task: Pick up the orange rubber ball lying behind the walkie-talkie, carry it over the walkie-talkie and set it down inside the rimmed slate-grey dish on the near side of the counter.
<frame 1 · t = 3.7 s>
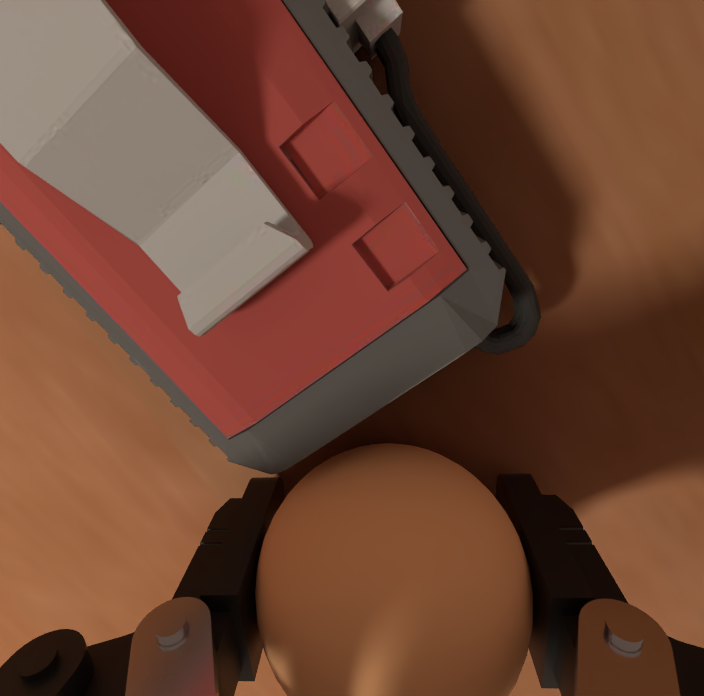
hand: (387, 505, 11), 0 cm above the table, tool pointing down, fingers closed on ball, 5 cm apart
ball: (390, 578, 9), point 3 cm above the table, touching gripper
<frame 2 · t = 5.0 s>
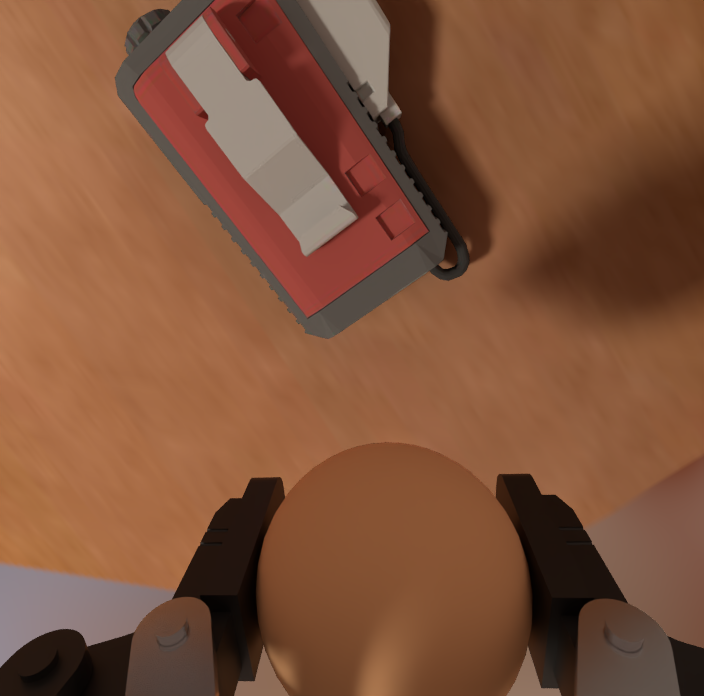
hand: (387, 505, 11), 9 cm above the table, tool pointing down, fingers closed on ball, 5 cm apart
walkie-talkie: (271, 81, 17), on the table
ball: (390, 577, 9), point 11 cm above the table, touching gripper
when the fingers open (2 cm above the table, at t = 9.7 s): ball stays where it is, resting on dish.
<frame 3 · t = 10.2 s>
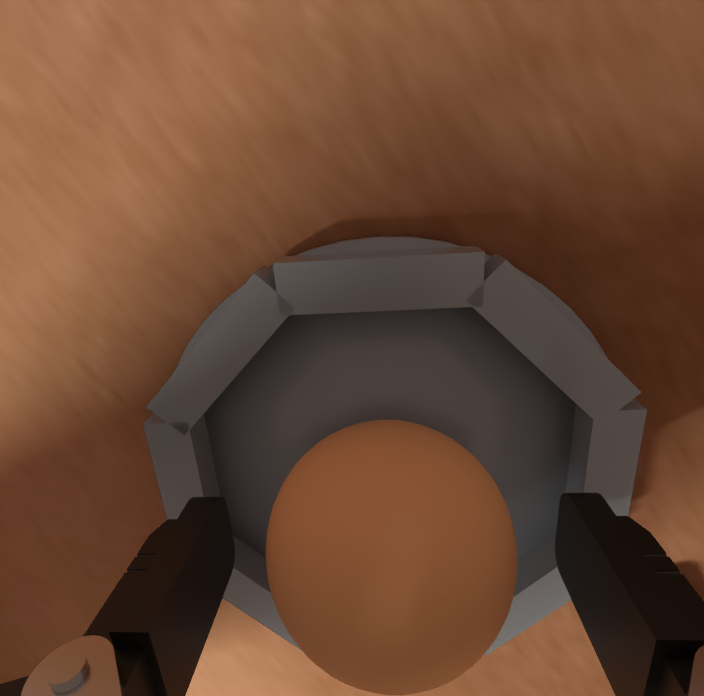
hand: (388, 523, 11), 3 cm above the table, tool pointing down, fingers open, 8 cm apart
ball: (388, 542, 10), point 3 cm above the table, touching dish
dish: (386, 459, 13), on the table
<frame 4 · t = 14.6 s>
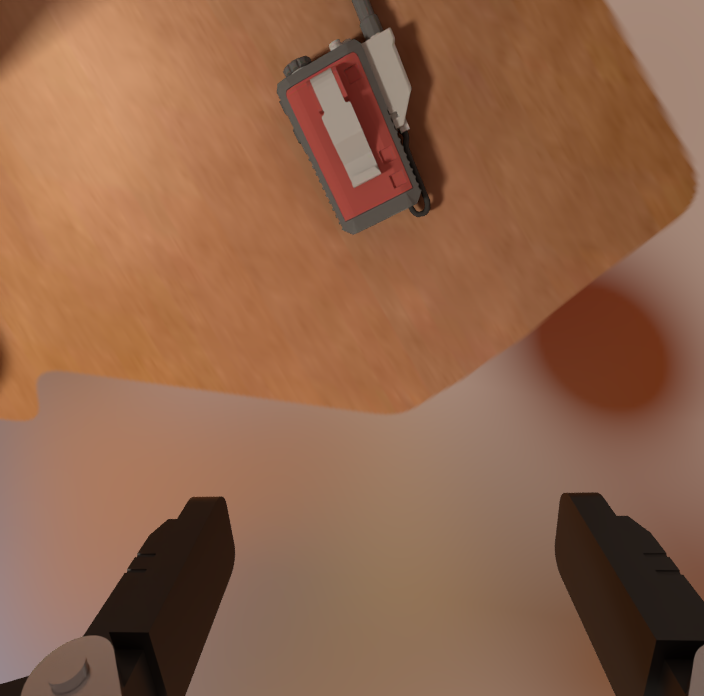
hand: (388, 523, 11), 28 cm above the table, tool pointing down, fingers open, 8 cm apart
walkie-talkie: (347, 98, 33), on the table
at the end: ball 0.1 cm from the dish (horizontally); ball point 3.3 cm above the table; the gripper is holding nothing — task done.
